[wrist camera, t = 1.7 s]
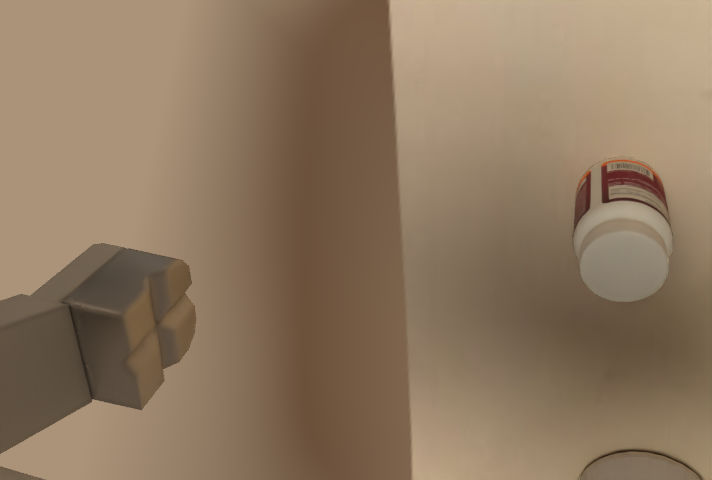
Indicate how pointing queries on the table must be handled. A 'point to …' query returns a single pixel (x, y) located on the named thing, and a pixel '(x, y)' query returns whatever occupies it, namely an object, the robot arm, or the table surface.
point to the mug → (637, 468)
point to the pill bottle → (622, 230)
